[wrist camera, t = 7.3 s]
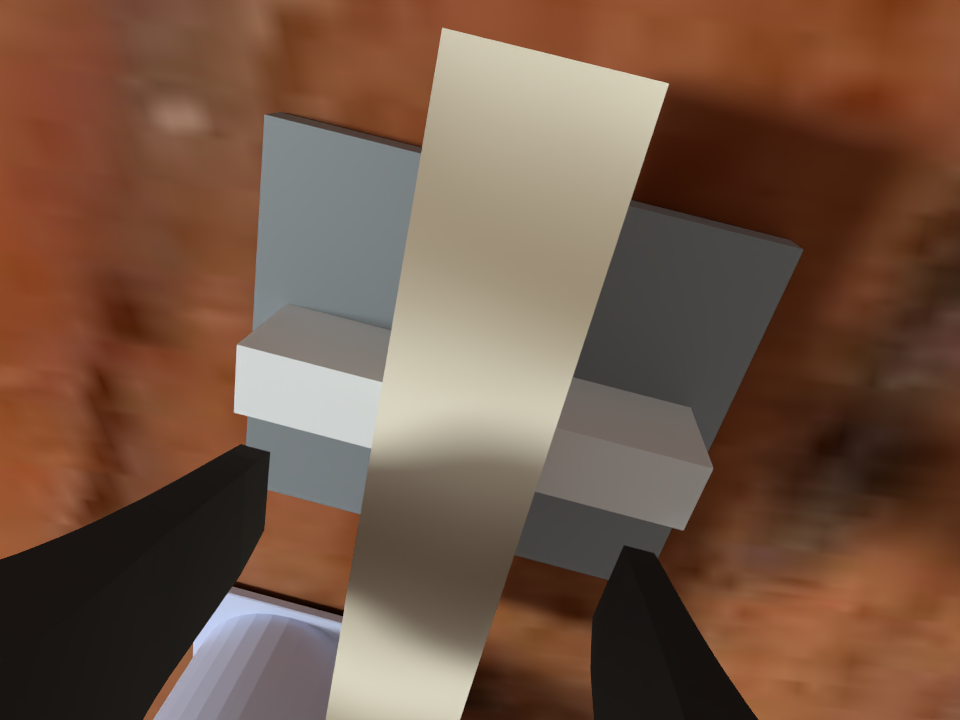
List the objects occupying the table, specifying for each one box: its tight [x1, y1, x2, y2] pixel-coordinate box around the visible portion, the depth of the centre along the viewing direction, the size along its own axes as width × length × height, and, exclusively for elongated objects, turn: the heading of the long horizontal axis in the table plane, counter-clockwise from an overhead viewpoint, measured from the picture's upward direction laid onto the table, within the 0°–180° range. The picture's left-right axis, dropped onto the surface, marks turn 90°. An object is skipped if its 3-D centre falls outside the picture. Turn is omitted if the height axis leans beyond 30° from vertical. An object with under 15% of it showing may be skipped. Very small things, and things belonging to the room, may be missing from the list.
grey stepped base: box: [234, 112, 804, 580], centre depth 17 cm, size 12×14×4 cm
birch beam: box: [326, 28, 669, 720], centre depth 14 cm, size 18×3×4 cm, turn 167°
